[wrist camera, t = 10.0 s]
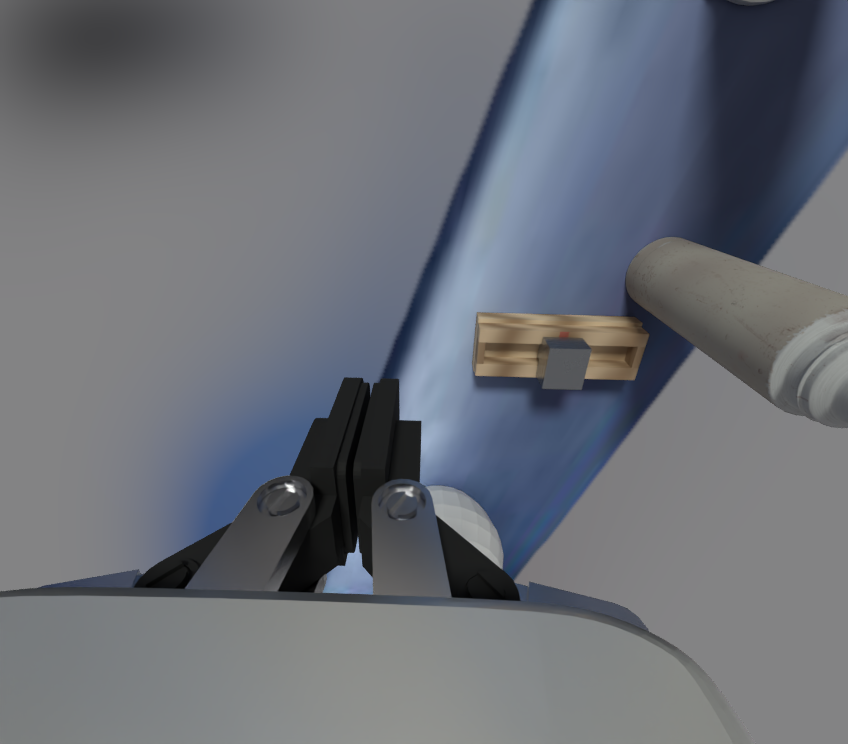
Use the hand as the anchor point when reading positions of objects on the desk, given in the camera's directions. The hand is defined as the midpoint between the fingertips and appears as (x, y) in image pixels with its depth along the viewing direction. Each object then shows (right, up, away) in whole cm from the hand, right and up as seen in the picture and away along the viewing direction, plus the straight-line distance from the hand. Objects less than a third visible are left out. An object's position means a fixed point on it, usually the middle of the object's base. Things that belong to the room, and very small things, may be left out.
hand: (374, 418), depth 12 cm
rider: (+17, +4, +35) cm, 39 cm away
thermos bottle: (+29, +13, +33) cm, 45 cm away
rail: (+17, +5, +37) cm, 41 cm away
